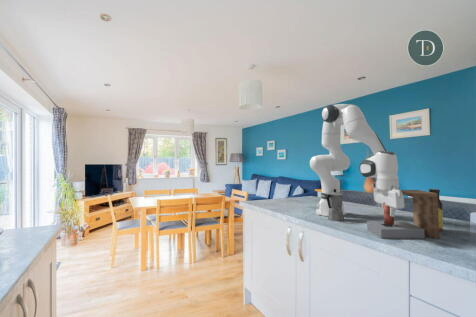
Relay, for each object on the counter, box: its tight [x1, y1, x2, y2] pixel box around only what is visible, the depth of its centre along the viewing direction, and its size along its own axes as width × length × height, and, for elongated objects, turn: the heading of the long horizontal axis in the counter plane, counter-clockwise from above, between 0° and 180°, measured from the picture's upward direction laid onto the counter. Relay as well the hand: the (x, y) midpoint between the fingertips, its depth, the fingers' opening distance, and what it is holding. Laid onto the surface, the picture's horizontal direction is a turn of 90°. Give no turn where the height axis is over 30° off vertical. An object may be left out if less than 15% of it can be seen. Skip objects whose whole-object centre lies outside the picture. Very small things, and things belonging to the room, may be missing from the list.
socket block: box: [366, 220, 426, 239], centre depth 113 cm, size 14×18×4 cm
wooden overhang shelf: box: [400, 189, 440, 239], centre depth 113 cm, size 14×10×20 cm
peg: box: [382, 202, 395, 225], centre depth 114 cm, size 4×4×10 cm
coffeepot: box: [326, 189, 345, 222], centre depth 144 cm, size 15×9×18 cm, turn 129°
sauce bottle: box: [428, 188, 444, 232], centre depth 118 cm, size 7×6×20 cm
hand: (388, 215), depth 114 cm, fingers closed on peg, 4 cm apart
